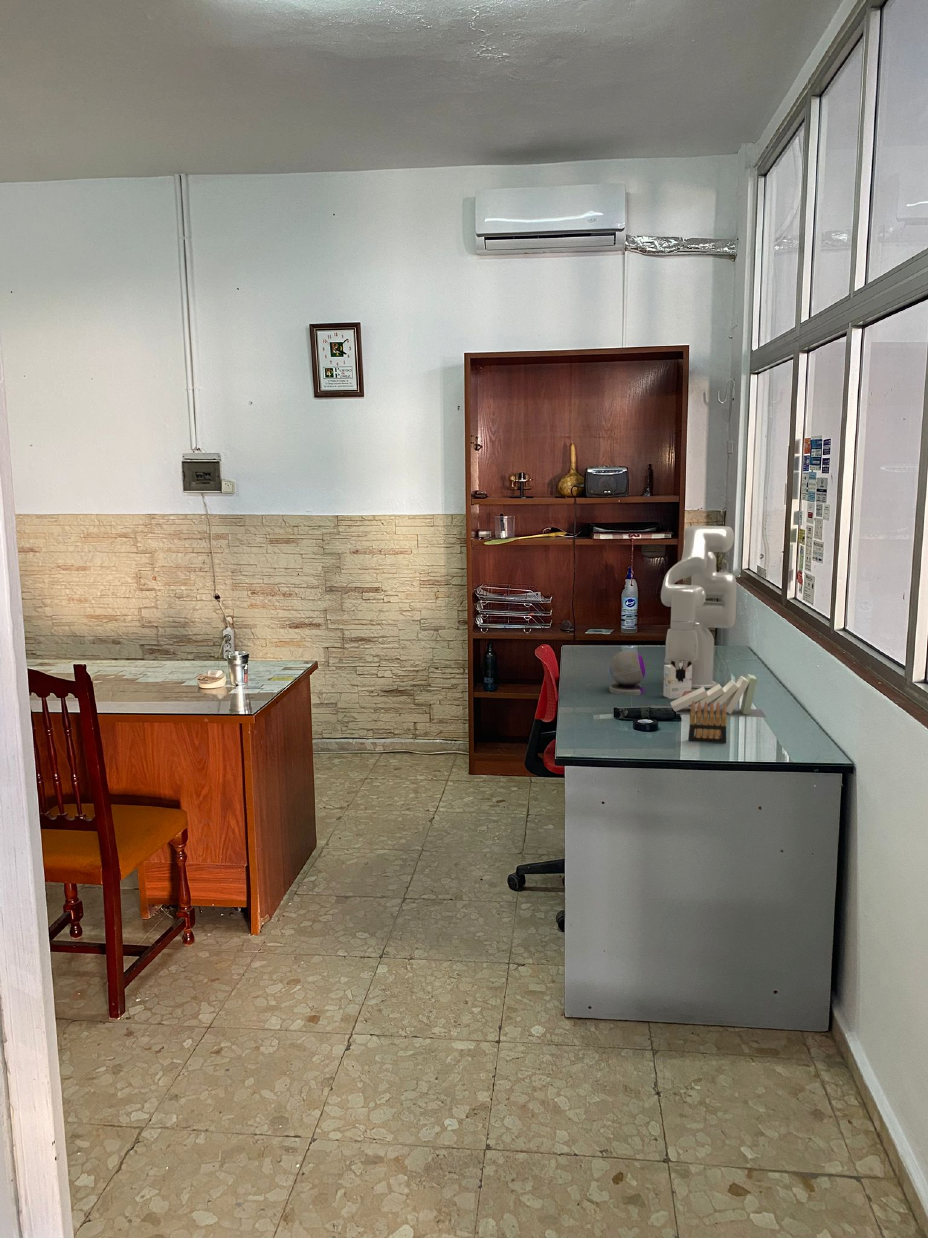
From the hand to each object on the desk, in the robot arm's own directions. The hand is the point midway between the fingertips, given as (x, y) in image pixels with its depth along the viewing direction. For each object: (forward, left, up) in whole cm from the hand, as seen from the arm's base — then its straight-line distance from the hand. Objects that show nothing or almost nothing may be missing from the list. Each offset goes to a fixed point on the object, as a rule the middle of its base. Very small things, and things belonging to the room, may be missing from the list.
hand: (680, 680), depth 298 cm
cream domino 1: (0, -2, -9) cm, 9 cm away
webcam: (-28, -16, -11) cm, 34 cm away
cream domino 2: (0, +4, -9) cm, 10 cm away
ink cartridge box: (-20, +1, -11) cm, 23 cm away
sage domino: (0, +21, -10) cm, 23 cm away
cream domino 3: (0, +9, -9) cm, 13 cm away
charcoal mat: (0, +9, -10) cm, 14 cm away
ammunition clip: (+34, +5, -11) cm, 36 cm away
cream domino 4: (0, +15, -9) cm, 18 cm away
